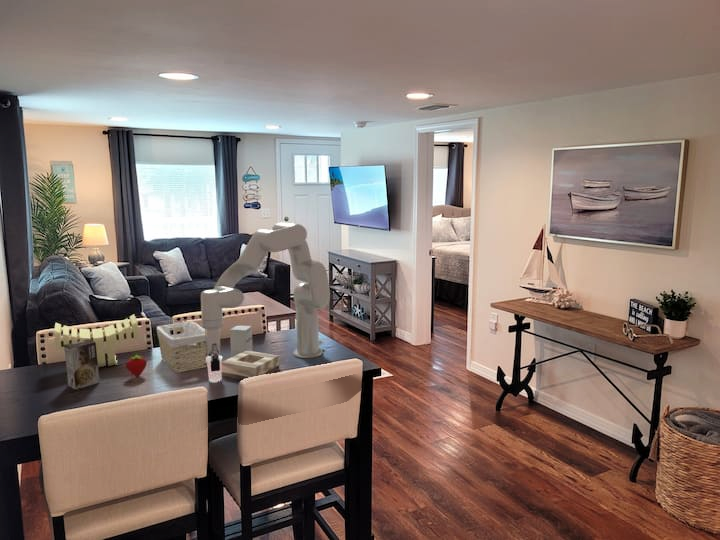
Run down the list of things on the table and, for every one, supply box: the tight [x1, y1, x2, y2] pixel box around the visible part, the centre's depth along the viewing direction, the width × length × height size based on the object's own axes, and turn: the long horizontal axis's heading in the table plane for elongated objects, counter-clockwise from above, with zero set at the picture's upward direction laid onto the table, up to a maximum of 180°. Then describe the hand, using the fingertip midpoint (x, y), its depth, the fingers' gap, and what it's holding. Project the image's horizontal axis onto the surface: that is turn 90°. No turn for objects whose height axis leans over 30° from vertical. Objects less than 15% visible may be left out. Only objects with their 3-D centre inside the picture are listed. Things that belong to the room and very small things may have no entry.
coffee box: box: [63, 339, 101, 390], centre depth 197 cm, size 9×6×16 cm
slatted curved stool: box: [53, 313, 140, 368], centre depth 220 cm, size 30×16×18 cm, turn 118°
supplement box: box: [229, 325, 254, 358], centre depth 230 cm, size 7×7×13 cm
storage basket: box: [156, 320, 209, 373], centre depth 221 cm, size 24×16×15 cm
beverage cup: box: [206, 354, 223, 383], centre depth 201 cm, size 6×6×14 cm
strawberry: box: [125, 352, 148, 378], centre depth 205 cm, size 6×8×10 cm
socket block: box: [222, 350, 280, 380], centre depth 211 cm, size 16×16×6 cm
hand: (214, 366), depth 202 cm, fingers open, 9 cm apart
